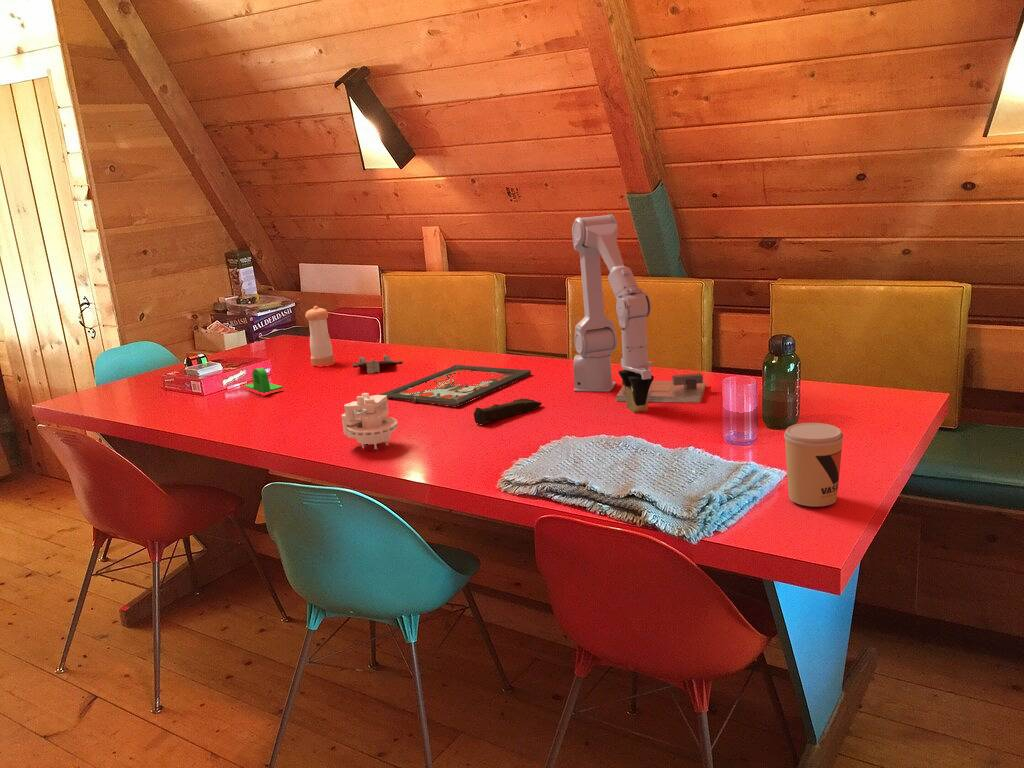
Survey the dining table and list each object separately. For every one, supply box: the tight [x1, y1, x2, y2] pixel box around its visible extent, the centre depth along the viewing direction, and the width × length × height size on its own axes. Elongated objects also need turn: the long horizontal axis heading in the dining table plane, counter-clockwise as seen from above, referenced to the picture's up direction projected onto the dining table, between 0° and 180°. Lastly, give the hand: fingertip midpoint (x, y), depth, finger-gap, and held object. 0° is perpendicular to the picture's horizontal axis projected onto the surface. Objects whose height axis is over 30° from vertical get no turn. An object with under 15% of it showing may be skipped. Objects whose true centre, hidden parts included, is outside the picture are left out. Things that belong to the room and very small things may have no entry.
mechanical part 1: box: [243, 367, 284, 393], centre depth 250 cm, size 12×6×8 cm, turn 43°
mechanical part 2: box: [341, 392, 399, 450], centre depth 194 cm, size 11×12×12 cm
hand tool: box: [473, 398, 543, 426], centre depth 210 cm, size 19×4×5 cm
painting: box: [378, 364, 532, 407], centre depth 240 cm, size 28×35×2 cm
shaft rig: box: [615, 372, 707, 404], centre depth 218 cm, size 20×14×5 cm
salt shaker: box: [304, 305, 336, 366], centre depth 275 cm, size 7×7×19 cm
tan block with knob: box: [625, 385, 649, 414], centre depth 207 cm, size 4×4×7 cm
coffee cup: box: [783, 422, 844, 508], centre depth 149 cm, size 9×9×12 cm
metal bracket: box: [352, 354, 403, 374], centre depth 267 cm, size 14×6×15 cm
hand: (636, 402), depth 207 cm, fingers open, 4 cm apart
